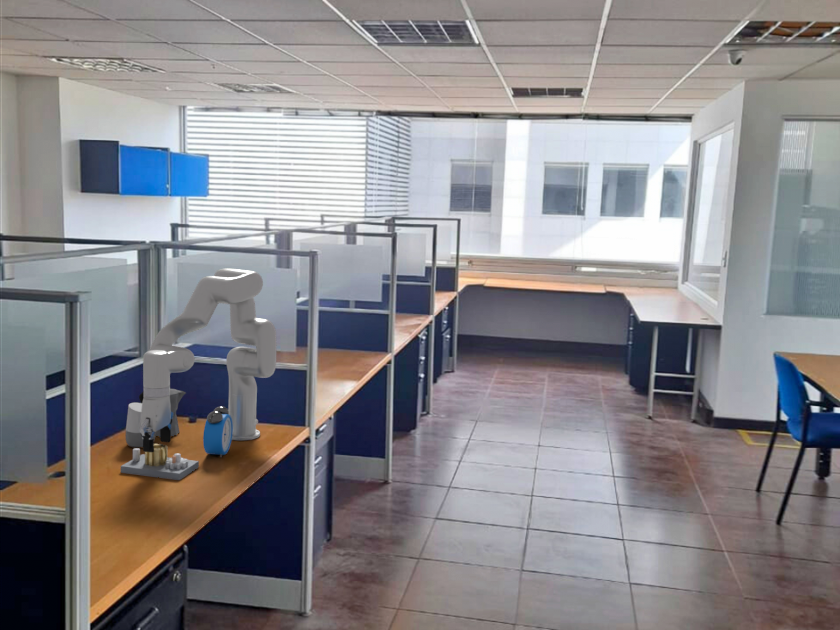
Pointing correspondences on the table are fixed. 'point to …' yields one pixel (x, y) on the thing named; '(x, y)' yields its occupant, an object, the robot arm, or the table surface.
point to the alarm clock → (218, 432)
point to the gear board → (160, 467)
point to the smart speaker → (134, 426)
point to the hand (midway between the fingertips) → (157, 446)
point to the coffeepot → (174, 400)
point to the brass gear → (157, 455)
